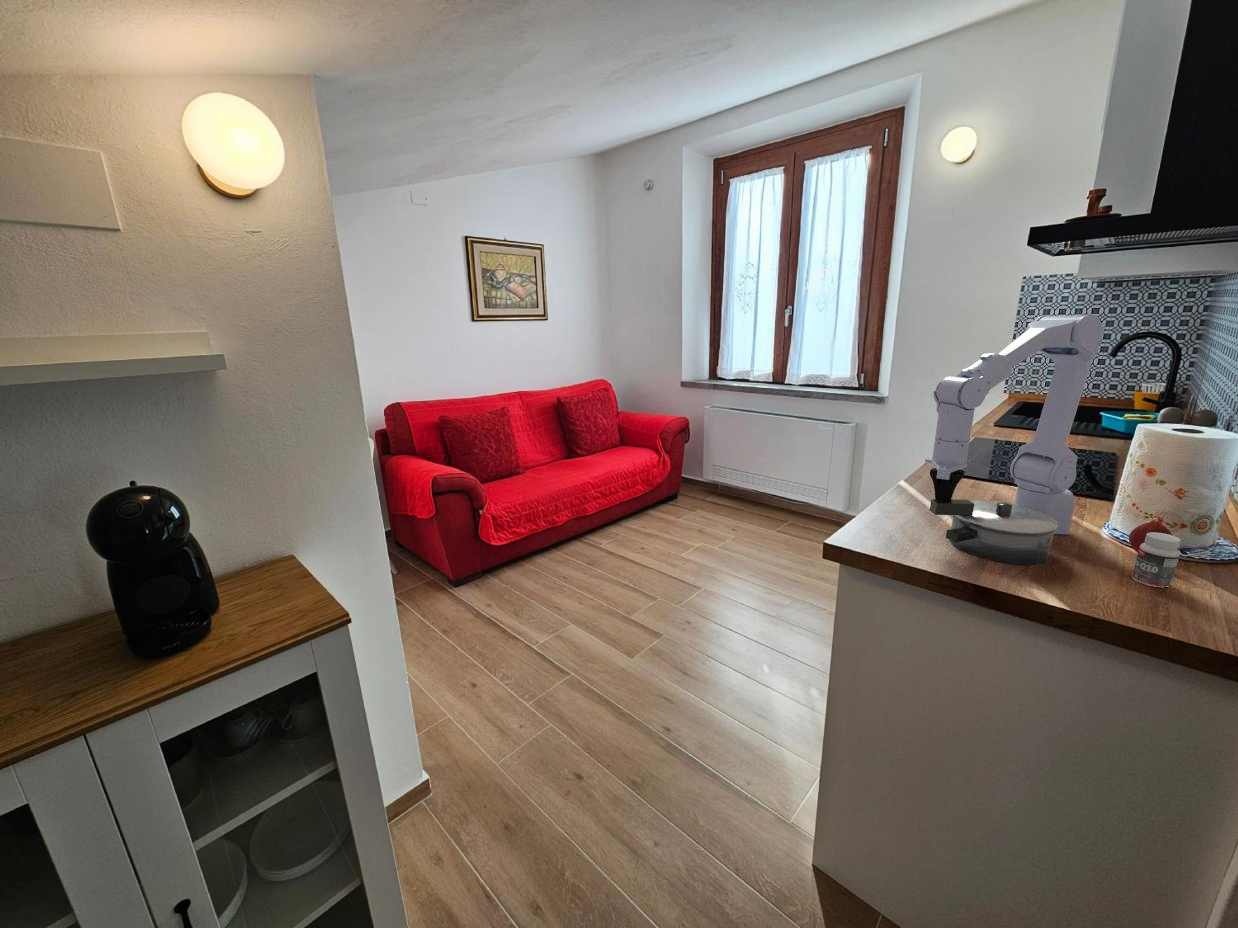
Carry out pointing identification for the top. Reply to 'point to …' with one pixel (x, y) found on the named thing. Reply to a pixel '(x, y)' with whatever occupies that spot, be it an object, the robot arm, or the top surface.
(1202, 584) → the top surface
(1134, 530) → the onion
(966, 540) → the cooker pot
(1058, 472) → the robot arm
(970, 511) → the cooker lid
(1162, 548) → the pill bottle
